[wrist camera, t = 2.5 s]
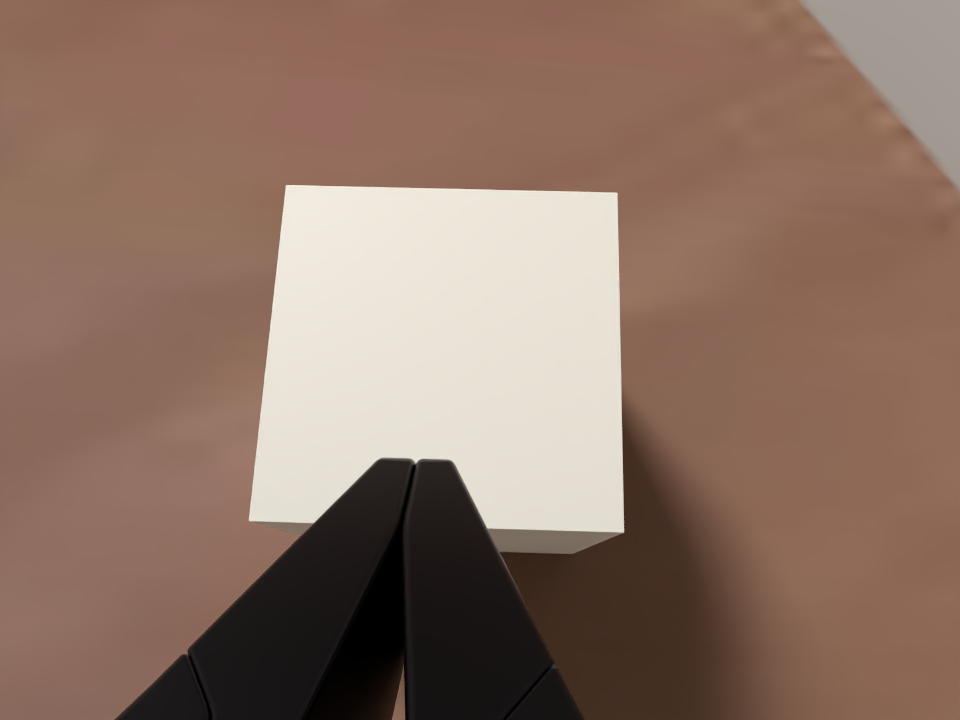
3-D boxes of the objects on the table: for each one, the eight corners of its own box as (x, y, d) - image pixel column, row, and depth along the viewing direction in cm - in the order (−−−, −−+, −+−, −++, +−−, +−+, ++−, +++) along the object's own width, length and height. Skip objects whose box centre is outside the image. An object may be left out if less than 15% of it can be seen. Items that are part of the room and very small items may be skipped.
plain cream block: (572, 554, 20) (624, 532, 12) (339, 546, 20) (248, 520, 13) (571, 332, 22) (617, 192, 14) (356, 326, 22) (286, 184, 14)
